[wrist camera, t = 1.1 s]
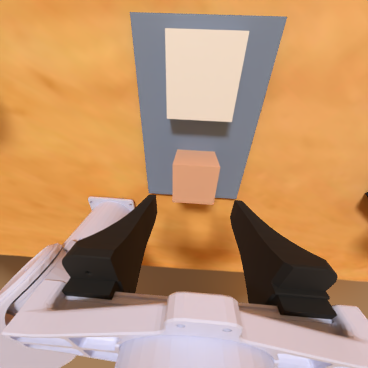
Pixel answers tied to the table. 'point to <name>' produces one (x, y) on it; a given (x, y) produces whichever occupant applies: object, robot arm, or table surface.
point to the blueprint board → (196, 129)
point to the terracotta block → (195, 176)
